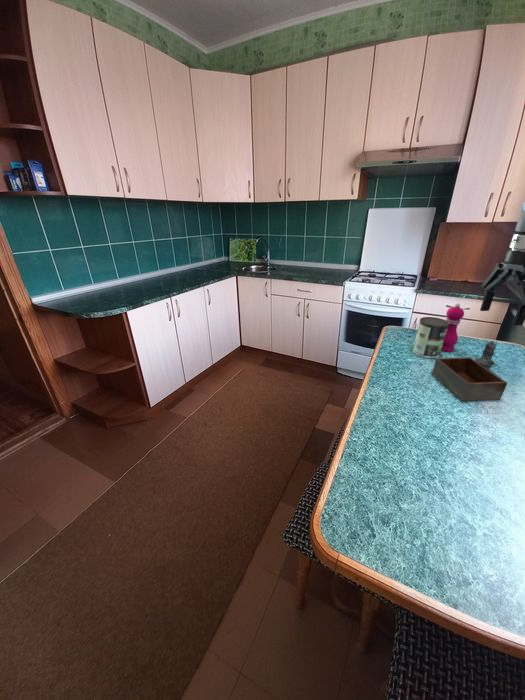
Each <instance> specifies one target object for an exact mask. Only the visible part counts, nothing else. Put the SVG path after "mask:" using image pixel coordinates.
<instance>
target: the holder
mask: <svg viewBox="0 0 525 700" xmlns="http://www.w3.org/2000/svg"><path fill="white" fill-rule="evenodd" d="M431 375H432V376H433V377H434V378H435V379H436V380H437V381H438V382H439V383H440V384H441V385H443V387H444V388H446V389H447V390H448V391H449V393H451V394H452V395H453V396H454V397H456V399H458V400H459V401H460V402H461V403H466V402H467V403H469V402H488V401H501V399H502V396H503V395H504V392H505V390H506V387H507V385H508V382H507V381H506V380H504V379H503V378H501V377H500V376H498V375H497V374H496V373H494V372H493V371H491V370H490V369H489V370H488V369H487V368H485V367H484V366H482V365H481V364H480V363H478V362H477V361H476V360H475V359H473V358H472V357H470V356H467V357H466V356H465V357H443V358H439V357H438V358H435V361H434V365H433V367H432V371H431Z"/></svg>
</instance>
